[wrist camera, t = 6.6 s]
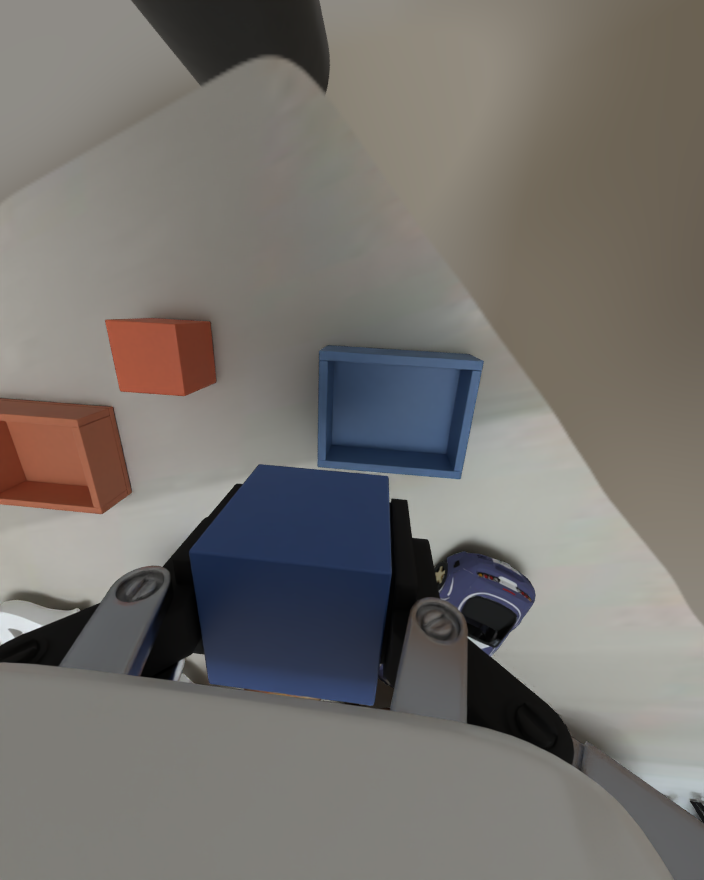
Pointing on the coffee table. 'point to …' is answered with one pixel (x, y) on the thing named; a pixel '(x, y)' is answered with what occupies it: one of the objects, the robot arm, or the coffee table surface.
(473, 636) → the toy car
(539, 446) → the coffee table surface
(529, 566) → the coffee table surface
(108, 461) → the rust bin
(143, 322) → the rust block
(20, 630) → the decorative ornament
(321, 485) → the blue block
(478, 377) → the blue bin
